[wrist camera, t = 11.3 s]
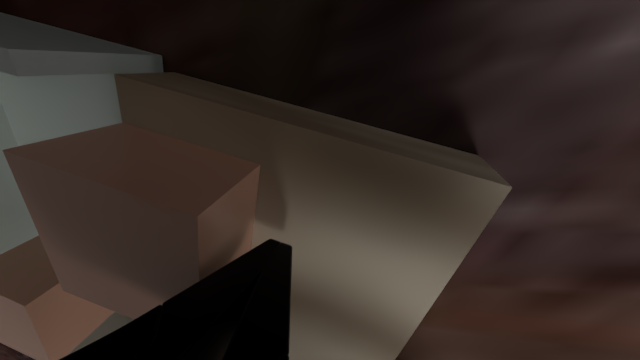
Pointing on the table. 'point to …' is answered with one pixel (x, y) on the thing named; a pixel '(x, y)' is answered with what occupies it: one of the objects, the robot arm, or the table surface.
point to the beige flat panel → (336, 207)
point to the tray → (55, 107)
